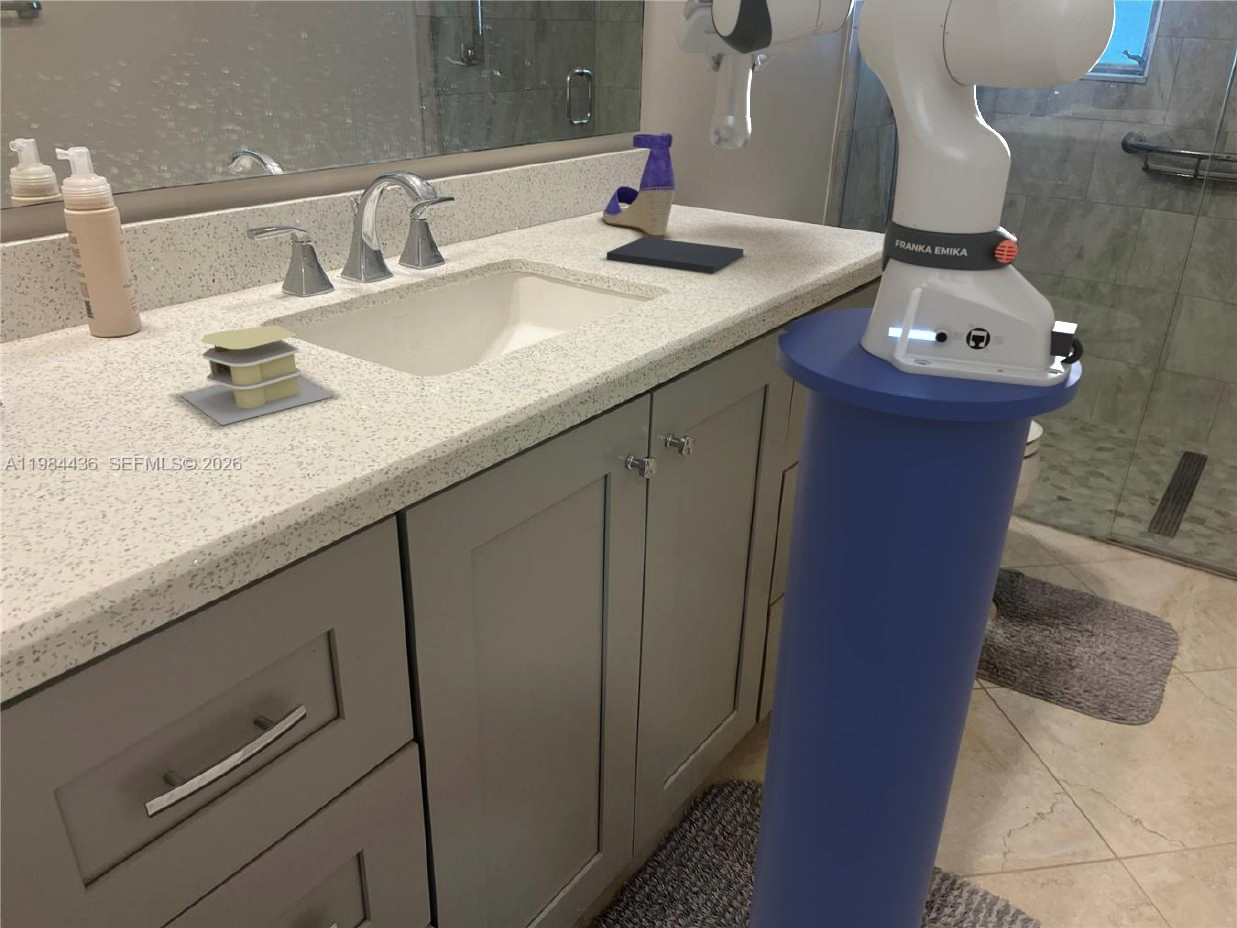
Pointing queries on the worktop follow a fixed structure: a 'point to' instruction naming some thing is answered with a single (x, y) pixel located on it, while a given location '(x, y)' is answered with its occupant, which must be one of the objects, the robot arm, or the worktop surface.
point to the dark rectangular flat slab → (676, 254)
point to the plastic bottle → (732, 101)
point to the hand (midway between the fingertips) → (733, 69)
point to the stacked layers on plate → (252, 375)
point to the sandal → (647, 191)
